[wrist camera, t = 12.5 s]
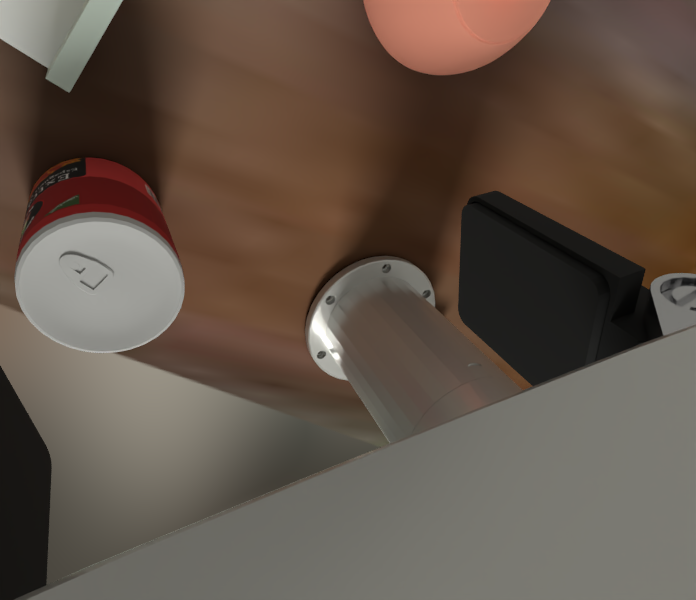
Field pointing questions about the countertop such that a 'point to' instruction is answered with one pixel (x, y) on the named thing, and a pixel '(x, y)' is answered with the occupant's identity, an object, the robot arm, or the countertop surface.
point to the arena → (57, 33)
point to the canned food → (97, 258)
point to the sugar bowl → (451, 31)
